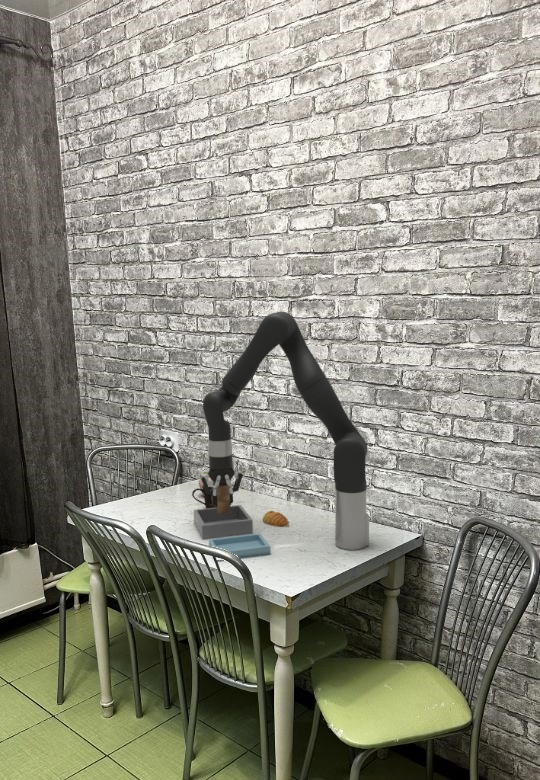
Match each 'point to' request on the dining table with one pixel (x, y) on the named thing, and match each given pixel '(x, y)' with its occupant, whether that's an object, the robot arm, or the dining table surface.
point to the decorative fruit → (201, 481)
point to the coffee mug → (206, 495)
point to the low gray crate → (222, 522)
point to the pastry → (275, 519)
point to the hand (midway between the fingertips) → (222, 505)
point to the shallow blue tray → (243, 545)
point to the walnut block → (223, 499)
